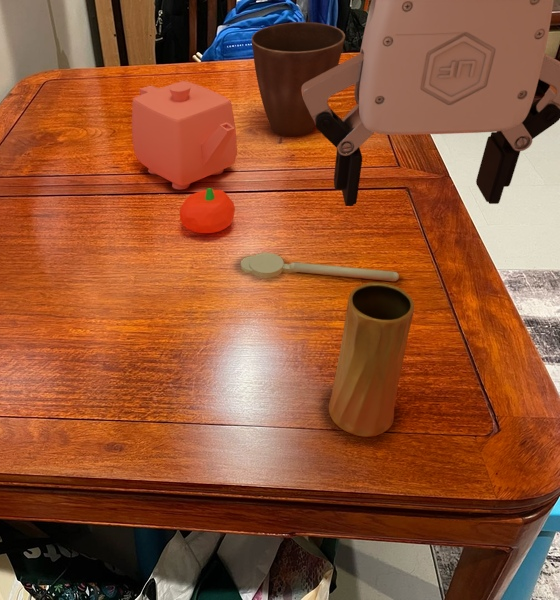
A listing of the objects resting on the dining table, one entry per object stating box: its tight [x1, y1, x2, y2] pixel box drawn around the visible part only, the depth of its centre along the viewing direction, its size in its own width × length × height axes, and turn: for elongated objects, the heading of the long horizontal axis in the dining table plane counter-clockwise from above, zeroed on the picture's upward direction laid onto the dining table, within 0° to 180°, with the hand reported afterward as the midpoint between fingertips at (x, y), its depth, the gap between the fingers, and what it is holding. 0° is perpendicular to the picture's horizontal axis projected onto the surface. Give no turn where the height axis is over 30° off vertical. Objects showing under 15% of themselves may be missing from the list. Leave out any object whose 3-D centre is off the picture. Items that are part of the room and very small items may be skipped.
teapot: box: [131, 80, 238, 190], centre depth 97 cm, size 22×13×14 cm, turn 35°
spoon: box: [240, 252, 400, 282], centre depth 78 cm, size 19×4×1 cm, turn 74°
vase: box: [328, 282, 415, 438], centre depth 56 cm, size 6×6×14 cm
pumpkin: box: [179, 187, 236, 234], centre depth 86 cm, size 7×8×6 cm
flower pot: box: [251, 21, 346, 138], centre depth 106 cm, size 15×15×16 cm
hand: (416, 195), depth 45 cm, fingers open, 9 cm apart
